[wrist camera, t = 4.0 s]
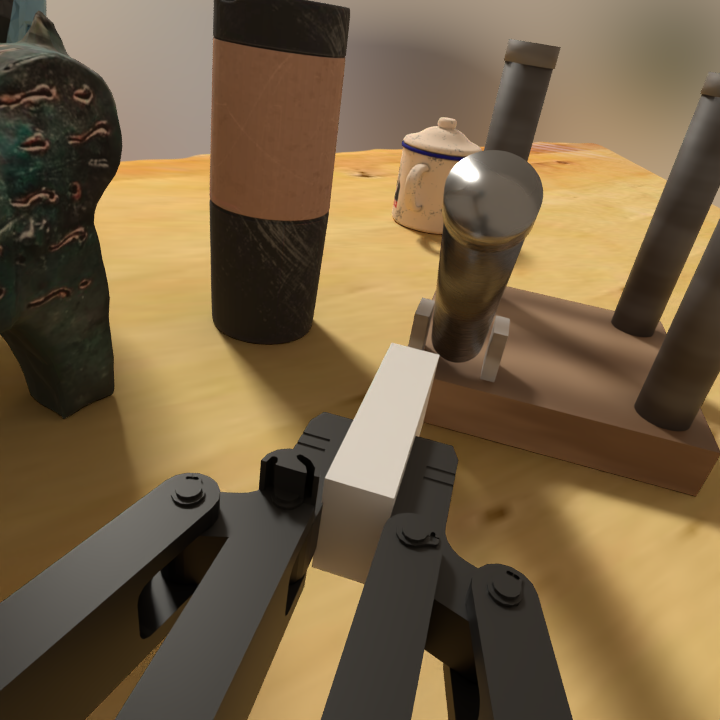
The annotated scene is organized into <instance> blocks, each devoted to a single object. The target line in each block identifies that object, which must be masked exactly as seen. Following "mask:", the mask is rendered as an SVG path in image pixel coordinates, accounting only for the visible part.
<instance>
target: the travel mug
mask: <svg viewBox="0 0 720 720" xmlns="http://www.w3.org/2000/svg"><path fill="white" fill-rule="evenodd" d="M349 20H350V9H349V8H346V7H342V6H336V5H330V4H325V3H320V2H314V1H308V0H214V22H213V36H214V37H213V68H212V69H213V70H212V113H211V156H210V244H211V295H212V317H213V322H214V324H215V326H216V327H217V328H218V329H219V330H220V331H221V332H223V333H224V334H226V335H228V336H230V337H232V338H235V339H238V340H241V341H245V342H250V343H258V344H279V343H286V342H290V341H294V340H297V339H299V338H301V337H303V336H304V335H306V334H307V333H308V332H309V330H310V328H311V326H312V321H313V315H314V309H315V303H316V296H317V290H318V283H319V276H320V269H321V263H322V256H323V249H324V242H325V236H326V229H327V222H328V215H329V208H330V199H331V189H332V180H333V170H334V161H335V152H336V142H337V133H338V124H339V123H338V122H339V114H340V105H341V95H342V86H343V77H344V67H345V56H346V49H347V39H348V30H349Z"/></svg>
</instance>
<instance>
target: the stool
mask: <svg viewBox="0 0 720 720" xmlns="http://www.w3.org/2000/svg"><path fill="white" fill-rule="evenodd" d="M559 51H560V47H556V46H549V45H544V44H538V43H531V42H525V41H519V40H512V39H509V41H508V46H507V50H506V54H505V58H504V60H505V65H504V69H503V73H502V78H501V82H500V86H499V91H498V95H497V99H496V103H495V107H494V111H493V115H492V119H491V124H490V128H489V132H488V137H487V141H486V145H485V149H484V151H486V150H500V151H506V152H510V153H512V154H515V155H517V156H519V157H521V158H523V159H524V160H526V161H528V157H529V153H530V150H531V146H532V143H533V139H534V135H535V132H536V128H537V124H538V121H539V117H540V113H541V110H542V106H543V103H544V99H545V95H546V92H547V88H548V85H549V81H550V77H551V74H552V70H553V69H555V65H556V62H557V58H558V54H559ZM701 94H702V95H701V98H700V100H699V103H698V105H697V108H696V110H695V113H694V115H693V118H692V120H691V123H690V125H689V128H688V130H687V133H686V135H685V138H684V140H683V143H682V145H681V148H680V150H679V153H678V155H677V158H676V160H675V163H674V165H673V168H672V170H671V173H670V175H669V178H668V180H667V183H666V185H665V188H664V190H663V193H662V195H661V198H660V200H659V203H658V205H657V208H656V210H655V213H654V215H653V218H652V220H651V223H650V225H649V228H648V230H647V233H646V235H645V238H644V240H643V243H642V245H641V248H640V250H639V252H638V255H637V257H636V260H635V262H634V265H633V267H632V270H631V272H630V275H629V277H628V280H627V282H626V285H625V287H624V290H623V292H622V295H621V297H620V300H619V302H618V305H617V307H616V310H615V311H612V310H607V309H603V308H599V307H594V306H590V305H586V304H581V303H577V302H573V301H568V300H564V299H560V298H555V297H551V296H547V295H542V294H538V293H533V292H529V291H525V290H520V289H516V288H512V287H507V286H506V288H505V291H504V293H503V296H502V298H501V301H500V304H499V306H498V309H497V311H496V314H495V316H494V319H493V322H492V324H491V327H490V329H489V332H488V334H487V337H486V340H485V342H484V345H483V347H482V349H481V351H480V352H479V354H478V355H477V356H476V357H474V358H473V359H471V360H469V361H466V362H462V363H454V362H450V361H447V360H445V359H443V358H442V357H441V356H439V359H438V364H437V368H436V372H435V376H434V380H433V384H432V388H431V392H430V396H429V401H428V405H427V409H426V413H425V417H424V421H423V422H425V423H429V424H433V425H436V426H440V427H444V428H447V429H451V430H455V431H458V432H462V433H466V434H469V435H473V436H477V437H480V438H484V439H488V440H491V441H495V442H499V443H502V444H506V445H510V446H513V447H517V448H521V449H524V450H528V451H532V452H535V453H539V454H543V455H546V456H550V457H554V458H557V459H561V460H565V461H568V462H572V463H576V464H580V465H583V466H587V467H591V468H594V469H598V470H602V471H605V472H609V473H613V474H616V475H620V476H624V477H627V478H631V479H635V480H638V481H642V482H646V483H649V484H653V485H657V486H660V487H664V488H668V489H671V490H675V491H679V492H682V493H686V494H690V495H693V496H697V494H698V492H699V491H700V489H701V487H702V485H703V484H704V482H705V480H706V479H707V477H708V475H709V473H710V472H711V470H712V468H713V466H714V465H715V463H716V461H717V460H718V458H719V456H720V450H719V448H718V446H717V443H716V441H715V439H714V437H713V435H712V432H711V430H710V428H709V426H708V424H707V421H706V419H705V417H704V415H703V413H702V410H701V406H702V404H703V402H704V400H705V398H706V396H707V394H708V393H709V391H710V389H711V387H712V385H713V383H714V381H715V379H716V377H717V376H718V374H719V372H720V219H719V221H718V224H717V226H716V228H715V230H714V232H713V234H712V237H711V239H710V241H709V243H708V245H707V248H706V250H705V252H704V254H703V256H702V258H701V261H700V263H699V265H698V267H697V269H696V271H695V274H694V276H693V278H692V280H691V282H690V285H689V287H688V289H687V291H686V293H685V295H684V298H683V300H682V302H681V304H680V306H679V308H678V311H677V313H676V315H675V317H674V319H673V321H672V324H671V326H670V328H669V330H668V332H667V334H666V332H665V329H664V327H663V325H662V323H661V322H660V321H659V320H660V318H661V316H662V314H663V311H664V309H665V307H666V305H667V303H668V300H669V298H670V296H671V294H672V291H673V289H674V287H675V285H676V282H677V280H678V278H679V276H680V273H681V271H682V269H683V267H684V264H685V262H686V260H687V258H688V256H689V253H690V251H691V249H692V247H693V244H694V242H695V240H696V238H697V235H698V233H699V231H700V229H701V226H702V224H703V222H704V220H705V217H706V215H707V213H708V211H709V209H710V206H711V204H712V202H713V200H714V197H715V195H716V193H717V191H718V188H719V186H720V73H714V72H709V73H708V75H707V78H706V80H705V83H704V86H703V88H702V90H701ZM435 298H436V291H435V294H434V296H433V299H432V300H429V299H425V298H422V299H421V302H420V304H419V306H418V308H417V310H416V313H415V316H414V321H413V326H412V331H411V335H410V340H409V345H408V347H411V348H415V349H419V350H422V351H426V352H430V353H434V354H438V353H437V352H436V351H435V349H434V347H433V345H432V339H431V335H432V326H433V316H434V307H435Z"/></svg>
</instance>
